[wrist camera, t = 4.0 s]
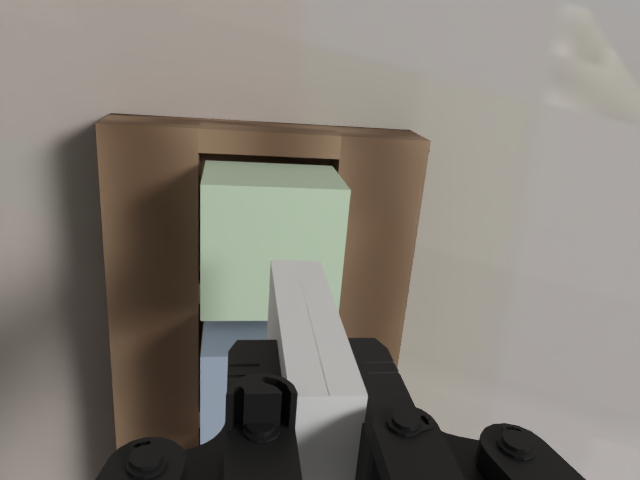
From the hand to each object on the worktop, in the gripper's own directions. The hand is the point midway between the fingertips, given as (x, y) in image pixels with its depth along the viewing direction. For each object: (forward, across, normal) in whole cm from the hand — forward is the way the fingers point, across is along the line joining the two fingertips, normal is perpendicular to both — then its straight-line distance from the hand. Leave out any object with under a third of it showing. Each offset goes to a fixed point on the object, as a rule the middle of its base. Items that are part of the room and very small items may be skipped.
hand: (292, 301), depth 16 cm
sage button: (+8, 0, 0) cm, 8 cm away
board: (+11, 0, -7) cm, 13 cm away
